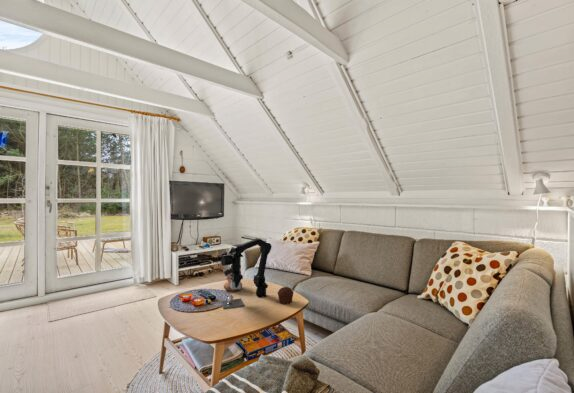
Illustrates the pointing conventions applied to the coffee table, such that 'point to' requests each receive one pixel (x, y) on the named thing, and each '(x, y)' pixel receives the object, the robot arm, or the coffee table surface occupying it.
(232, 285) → the collar
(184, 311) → the coffee table surface
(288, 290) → the muffin
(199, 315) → the coffee table surface
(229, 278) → the ceramic jug
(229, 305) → the flange plate
